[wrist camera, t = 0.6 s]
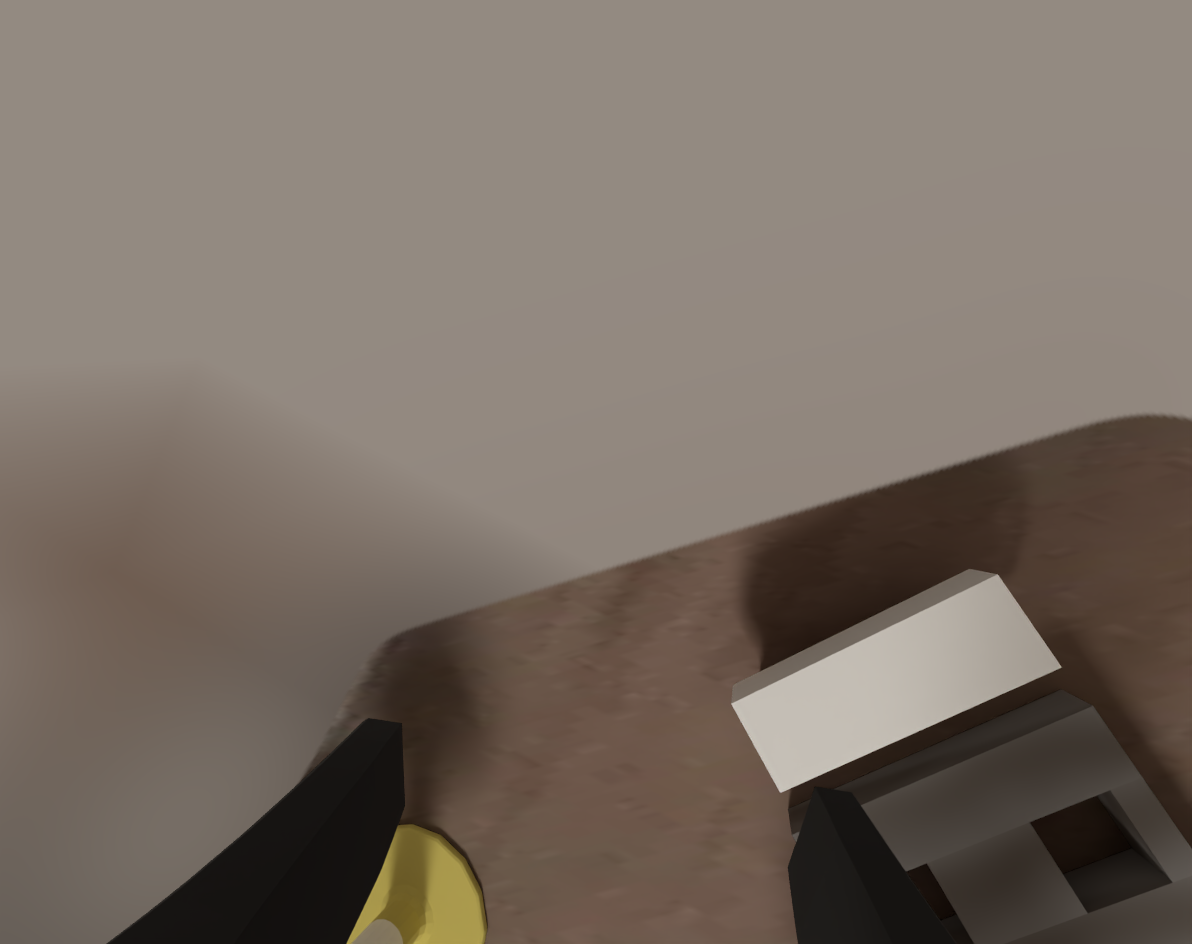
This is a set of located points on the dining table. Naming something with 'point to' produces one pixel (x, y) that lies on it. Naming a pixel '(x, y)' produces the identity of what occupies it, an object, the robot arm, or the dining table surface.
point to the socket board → (1032, 831)
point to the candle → (422, 895)
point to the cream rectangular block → (890, 677)
